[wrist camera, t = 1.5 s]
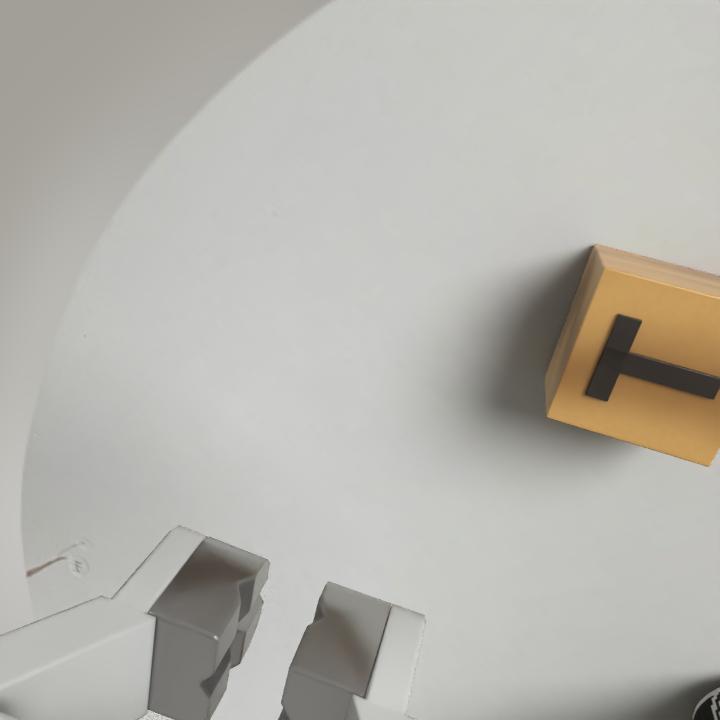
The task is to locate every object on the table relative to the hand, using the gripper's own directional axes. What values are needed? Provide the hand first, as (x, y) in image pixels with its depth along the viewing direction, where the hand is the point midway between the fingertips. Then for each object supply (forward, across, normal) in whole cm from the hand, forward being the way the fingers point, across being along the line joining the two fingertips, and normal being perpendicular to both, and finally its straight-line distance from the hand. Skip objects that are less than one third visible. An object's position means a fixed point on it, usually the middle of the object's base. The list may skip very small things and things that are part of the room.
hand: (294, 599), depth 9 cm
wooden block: (+19, -8, 0) cm, 21 cm away
